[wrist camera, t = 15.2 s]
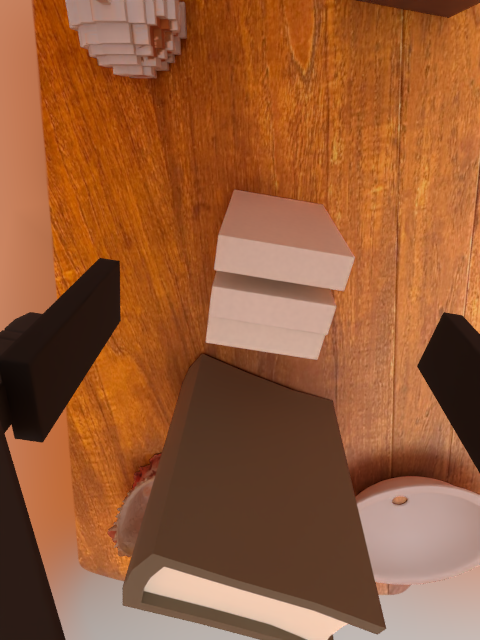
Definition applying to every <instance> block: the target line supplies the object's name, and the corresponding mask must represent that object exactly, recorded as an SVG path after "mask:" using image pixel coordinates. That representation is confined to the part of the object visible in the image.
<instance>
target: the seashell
mask: <svg viewBox="0 0 480 640" xmlns="http://www.w3.org/2000/svg"><path fill="white" fill-rule="evenodd" d="M161 455H162V454H158V455H154V457H153V458H151V459H150V465H148V466H145V467H140V472H136V473H135V474H134V475H135V476H134V480H135V482H134V484H133V486H132V490H130V491H129V492H128V493H127V494H128V497H125V499H124V500H123V502H124V503H123V504H124V505H122V507H121V508H118V509H117V510H118V511H120V513H119V514H117V516H116V517H118V519H117V522H114V526H113V527H111V528H110V529H108V530H109V531H108V535H109V536H110V537H111V538H112V540H113V542H115V543H116V545H115V547H117V548H118V555H119V556H127V557H132V554H133V550H134V547H135V544H136V540H137V537H138V533H139V530H140V526H141V523H142V520H143V516H144V513H145V509H146V506H147V503H148V499H149V496H150V492H151V489H152V485H153V482H154V479H155V475H156V472H157V468H158V465H159V462H160V458H161ZM115 547H114V548H115Z"/></svg>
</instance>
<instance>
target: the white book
mask: <svg viewBox="0 0 480 640" xmlns="http://www.w3.org/2000/svg"><path fill="white" fill-rule="evenodd" d="M354 259H355V257H354V255H353V253H352V252H351V250H350V248H349V247H348V245H347V244H346V242H345V240H344V239H343V237H342V235H341V234H340V232H339V230H338V229H337V227H336V225H335V224H334V222H333V220H332V219H331V217H330V215H329V214H328V212H327V211H326V209H325V207H324V206H323V205H322V204H316V203H310V202H305V201H299V200H293V199H287V198H281V197H275V196H269V195H264V194H258V193H252V192H246V191H240V190H234V191H233V194H232V197H231V200H230V203H229V206H228V209H227V211H226V214H225V217H224V220H223V223H222V226H221V229H220V232H219V234H218V241H217V249H216V257H215V265H214V270H217V271H223V272H229V273H235V274H241V275H248V276H254V277H260V278H266V279H272V280H278V281H284V282H290V283H296V284H303V285H309V286H315V287H321V288H327V289H333V290H339V291H344V290H345V287H346V284H347V281H348V278H349V275H350V271H351V268H352V265H353V262H354Z"/></svg>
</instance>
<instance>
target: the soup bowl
mask: <svg viewBox="0 0 480 640" xmlns="http://www.w3.org/2000/svg"><path fill="white" fill-rule="evenodd" d="M398 496H404V497H406V498H407V502H406V503H404V504H400V505H396V504H393V503H392V500H393V499H394V498H395V497H398ZM355 498H356V502H357V507H358V511H359V515H360V519H361V524H362V528H363V532H364V536H365V541H366V545H367V549H368V553H369V558H370V562H371V566H372V570H373V575H374V579H375V582H380V583H386V584H398V585H412V584H424V583H431V582H436V581H441V580H445V579H449V578H452V577H455V576H458V575H461V574H463V573H465V572H467V571H470V570H472V569H474V568H475V567H477V566H479V565H480V495H479V494H477V493H475V492H473V491H470V490H467V489H464V488H460V487H456V486H454V485H451V484H449V483H447V482H444V481H441V480H437V479H433V478H427V477H420V476H404V477H396V478H391V479H387V480H384V481H381V482H378V483H376V484H374V485H372V486H370V487H368V488H366V489H365V490H363V491H362V492H361V493H359V494H358V495H357V496H356V497H355Z"/></svg>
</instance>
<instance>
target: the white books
mask: <svg viewBox="0 0 480 640" xmlns="http://www.w3.org/2000/svg"><path fill="white" fill-rule="evenodd" d="M335 310H336V304H335V301H334V298H333V296H332V293H331V290H330V289H327V288H321V287H315V286H309V285H303V284H296V283H290V282H284V281H278V280H272V279H266V278H260V277H254V276H248V275H241V274H235V273H229V272H223V271H216V275H215V278H214V282H213V285H212V291H211V299H210V307H209V318H208V326H207V334H206V343H212V344H218V345H225V346H231V347H237V348H244V349H250V350H257V351H263V352H269V353H276V354H282V355H288V356H295V357H301V358H307V359H314V360H317V359H318V357H319V353H320V350H321V347H322V344H323V341H324V338H325V335H327V334H328V332H329V329H330V325H331V322H332V319H333V316H334V313H335Z"/></svg>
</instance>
